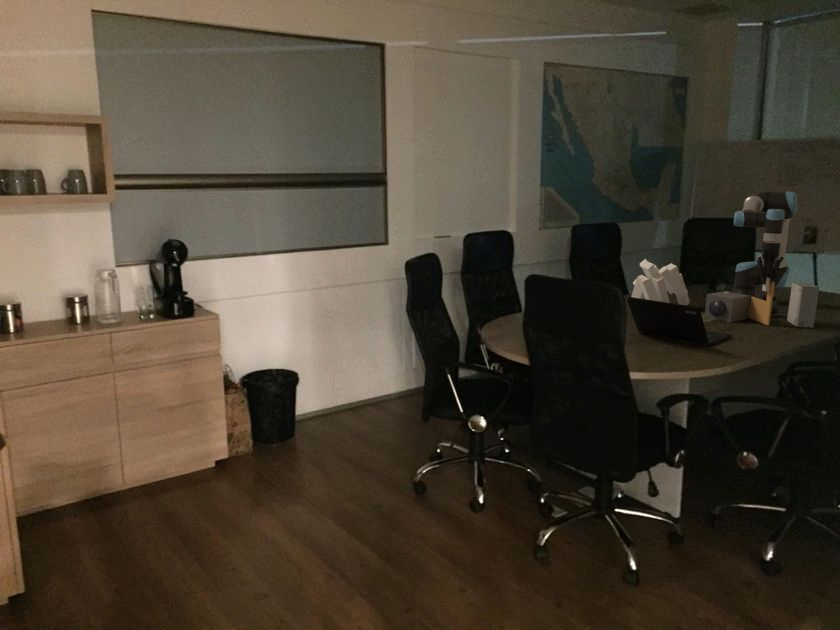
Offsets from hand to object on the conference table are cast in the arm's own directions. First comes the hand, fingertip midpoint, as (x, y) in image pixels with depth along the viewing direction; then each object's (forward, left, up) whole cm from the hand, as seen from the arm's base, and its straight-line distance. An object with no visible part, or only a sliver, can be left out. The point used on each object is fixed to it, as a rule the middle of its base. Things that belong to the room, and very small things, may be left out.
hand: (765, 290), depth 321 cm
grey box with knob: (-1, -19, -17) cm, 25 cm away
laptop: (+57, -7, -18) cm, 60 cm away
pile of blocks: (+9, -52, -17) cm, 55 cm away
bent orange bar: (-5, -4, -17) cm, 18 cm away
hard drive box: (-19, +9, -17) cm, 27 cm away
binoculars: (-23, -9, -17) cm, 30 cm away
